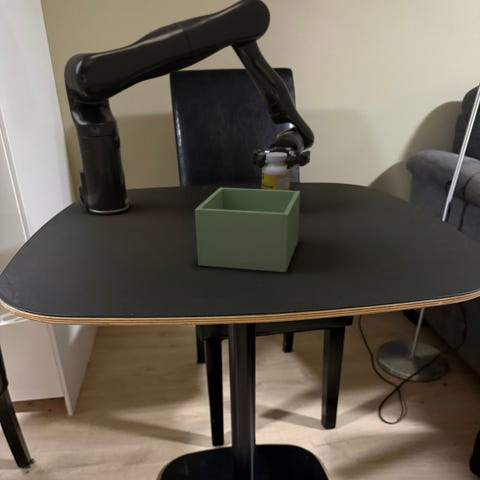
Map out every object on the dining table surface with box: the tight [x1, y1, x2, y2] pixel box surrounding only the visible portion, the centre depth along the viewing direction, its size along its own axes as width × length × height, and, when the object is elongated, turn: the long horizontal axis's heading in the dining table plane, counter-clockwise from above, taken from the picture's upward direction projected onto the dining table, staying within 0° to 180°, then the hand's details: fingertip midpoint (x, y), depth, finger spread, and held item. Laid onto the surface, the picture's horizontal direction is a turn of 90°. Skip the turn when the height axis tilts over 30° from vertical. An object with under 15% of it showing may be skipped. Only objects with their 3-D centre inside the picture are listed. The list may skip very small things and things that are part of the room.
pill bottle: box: [261, 152, 291, 191], centre depth 110 cm, size 6×6×12 cm
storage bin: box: [194, 187, 301, 273], centre depth 87 cm, size 16×16×10 cm
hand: (274, 163), depth 106 cm, fingers closed on pill bottle, 5 cm apart
